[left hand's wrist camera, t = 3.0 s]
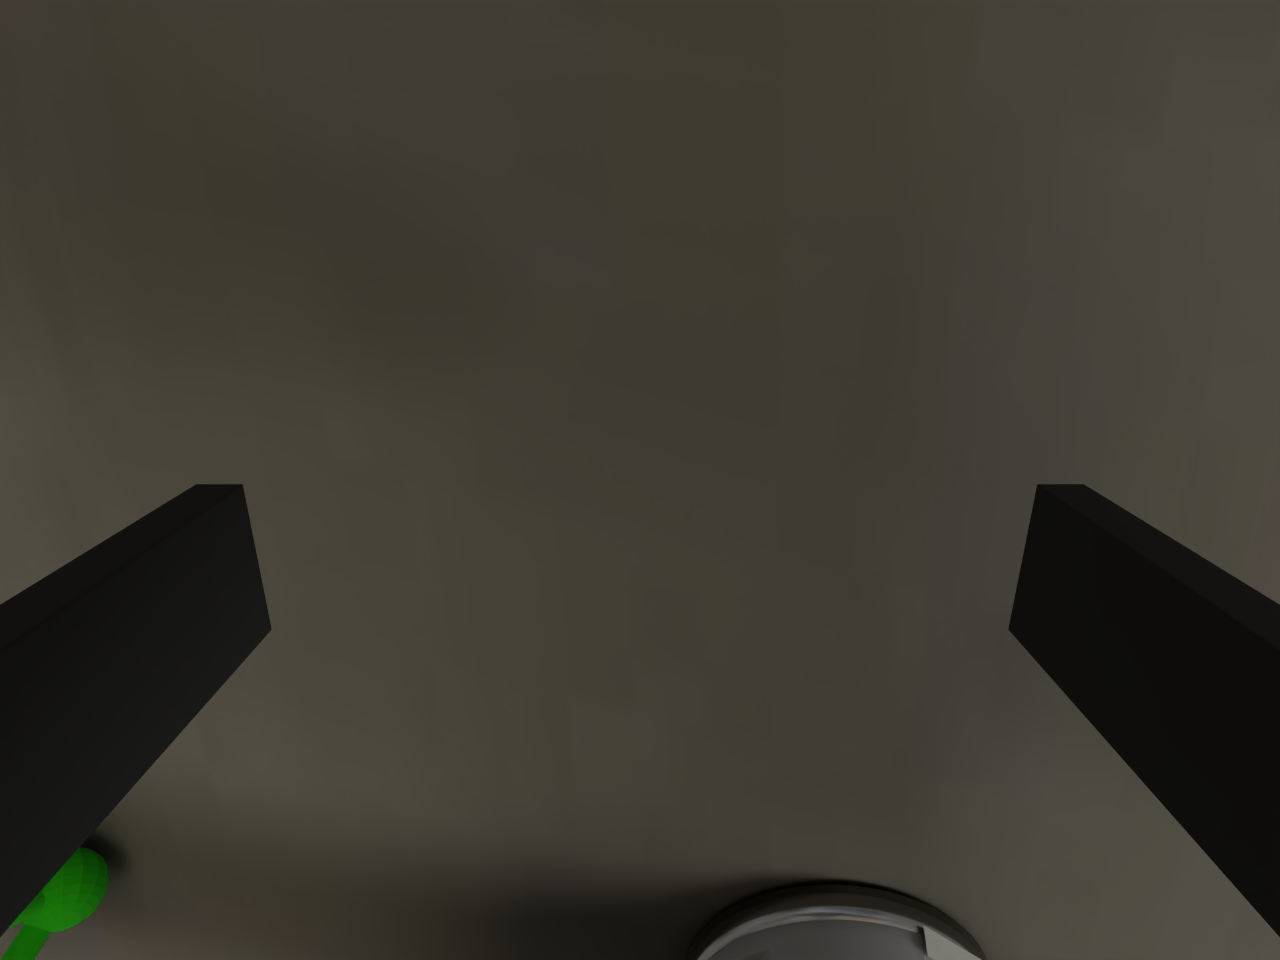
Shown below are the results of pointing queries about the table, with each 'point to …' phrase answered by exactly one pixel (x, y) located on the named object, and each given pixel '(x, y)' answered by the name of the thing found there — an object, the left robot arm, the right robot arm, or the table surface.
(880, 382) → the table surface
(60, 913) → the molecular model
